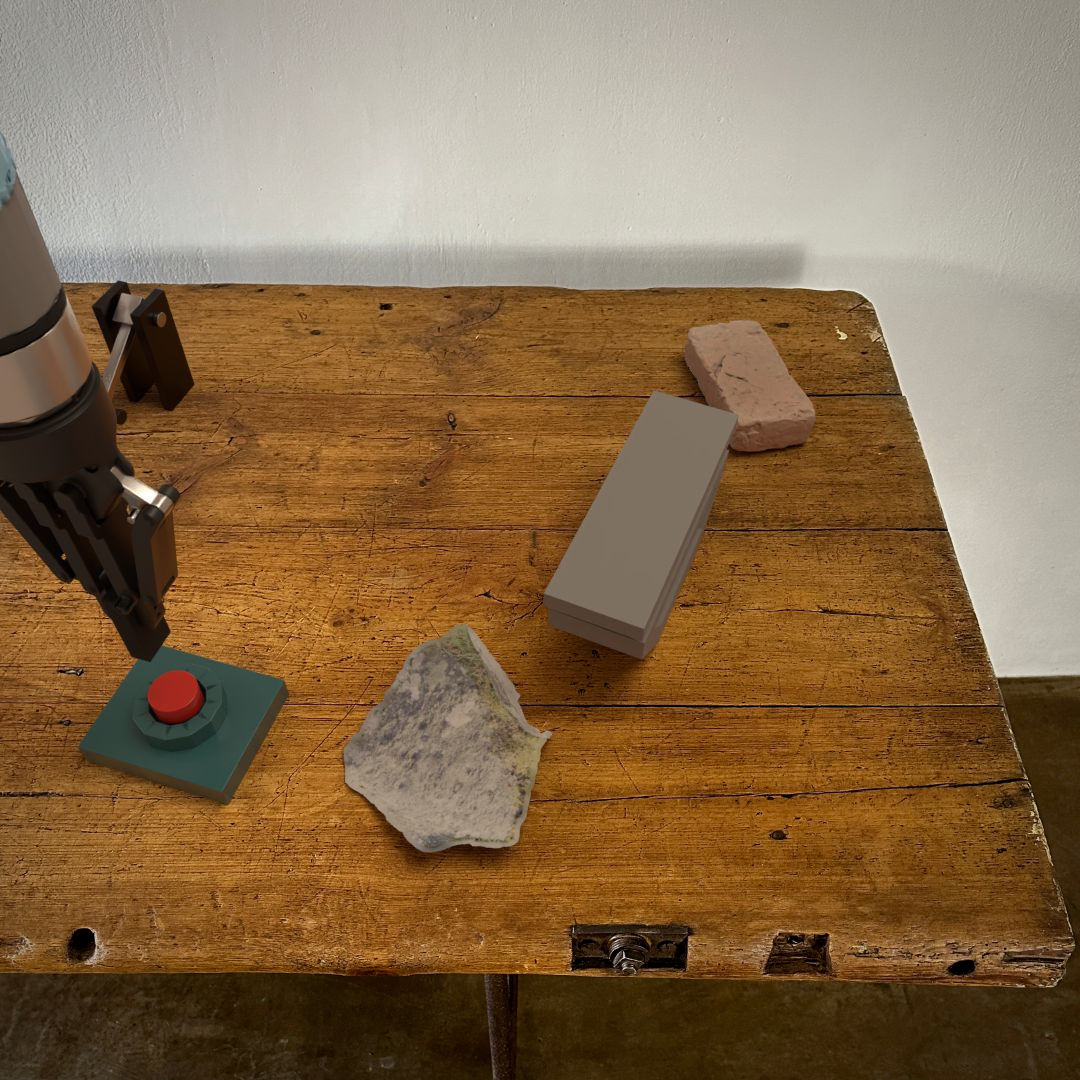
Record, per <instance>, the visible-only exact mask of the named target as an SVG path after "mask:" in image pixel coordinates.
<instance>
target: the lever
mask: <svg viewBox="0 0 1080 1080" xmlns="http://www.w3.org/2000/svg"><path fill="white" fill-rule="evenodd" d="M144 299H145V298H144V297H143V296H138V295H133V294H131V295H129V294H125V293H122V294H121V296H120V299H119V302H118V305H117V308H116V310H115V313H114V316H113V319H112V320H113V321H114V322H116V323H117V324H118V325H120V326H121V327H120V330H119V333H118V335H117V338H116V341H115V344H114V347H113V349H112V352H111V354H110V355H109V358H108V361H107V364H106V366H105V369H104V372H103V375H102V380H103V382H104V384H105V387H106V389H107V392H108V394H109V396H110V399H111V401H112V402H113V399H114V396H115V394H116V390H117V388H118V384H119V382H120V376H121V373H122V370H123V368H124V365H125V362H126V359H127V356H128V353H129V351H130V348H131V345H132V342H133V339H134V336H135V334H136V331H135V328H134V325H133V323H132V320H131V317H130V314H131V313H132V312H133V311H134V310H135V309H136V308H137V307H138V306H139V305H140V303H141V302H142V301H143V300H144ZM114 408H115V411H116V416H117V426H123V425H125V424H126V422H127V419H128V414H127V413H128V412H127V411H126V410H125V409H122V408H117V407H114Z"/></svg>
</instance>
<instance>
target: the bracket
mask: <svg viewBox="0 0 1080 1080" xmlns="http://www.w3.org/2000/svg"><path fill="white" fill-rule="evenodd" d="M122 293H125V294H129V295H132V292H131V290H130V286H129V284H128V282H127V281H123V280H119V279H118V280H117V281H116V282H115V283H113V285H112V286H110V287H109V288H108V289H107V290H106V291H105V292H104V293H103V294H102V295H101V296H100V297H99V298H98V299H96V301H95V302H94V303H93V304H92V305H91V309H92V312H93V314H94V317H95V319H96V321H97V324H98V327H99V329H100V331H101V334H102V336H103V339H104V342H105V344H106V347H107V349H108V352H109V354H110V355H111V352H112V349H113V347H114V344H115V341H116V338H117V335H118V333H119V330H120V327H121V326H120V325H118V324H117V323H116V322H114V321H113V320H112V319H113V316H114V313H115V310H116V308H117V305H118V302H119V299H120V296H121V294H122ZM130 317H131V320H132V323H133V325H134V328H135V331H136V334H135V336H134V339H133V342H132V345H131V348H130V351H129V353H128V356H127V359H126V362H125V365H124V368H123V370H122V373H121V376H120V379H119V381H120V382H121V384H122V387H123V389H124V393H125V394H126V397H127V400H128V402H130V403H135V404H138V403H139V402H140V401H141V400H142V399H143V397H144V396H145V395H146V394H147V393H148V392H149V390H150V389H151V388H152V387H153V386H155V389H156V391H157V394H158V397H159V399H160V403H161V405H162V407H163V410H166V411H169V412H173V411H174V410H175V409H176V408H177V407H178V405H179V404H180V403H181V402H182V400H183V399H184V398H185V397H186V395H187V394H188V393H189V392H190V391H191V390H192V389H193V387H194V386H195V381H194V378H193V375H192V372H191V368H190V366H189V363H188V360H187V359H188V358H187V357H186V353H185V351H184V347H183V344H182V341H181V338H180V335H179V332H178V327H177V325H176V322H175V319H174V317H173V313H172V310H171V307H170V304H169V301H168V297H167V294H166V291H165V290H164V289H161V288H157V287H155V288H154V289H152V291H151V292H150V293H149V294H148V295H147V296H146V297H145V298H144V300H143V301H142V302H141V303H140V305H139V306H138V307H137V308H136V309H135V310H134V311H133V312H132V313H131V314H130Z"/></svg>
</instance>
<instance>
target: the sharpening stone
mask: <svg viewBox="0 0 1080 1080" xmlns="http://www.w3.org/2000/svg"><path fill="white" fill-rule="evenodd" d="M738 417H739V415H738V414H734V413H731V412H727V411H724V410H721V409H717V408H714V407H710V406H709V405H708V404H707V405H706V404H703V403H699V402H697V401H693V400H690V399H686V398H682V397H679V396H675V395H673V394H669V393H665V392H662V391H659V390H653V391H652V393H651V395H650V397H649V399H648V400H647V402H646V404H645V406H644V408H643V409H642V411H641V413H640V415H639V417H638V418H637V420H636V422H635V424H634V426H633V428H632V430H631V431H630V434H629V436H628V437H627V439H626V441H625V443H624V444H623V446H622V448H621V450H620V452H619V453H618V456H617V457H616V459H615V461H614V463H613V465H612V466H611V468H610V470H609V472H608V474H607V476H606V478H605V479H604V481H603V483H602V485H601V487H600V489H599V491H598V492H597V494H596V496H595V498H594V499H593V501H592V504H591V506H590V507H589V509H588V511H587V513H586V515H585V517H584V518H583V520H582V521H581V524H580V526H579V528H578V529H577V532H576V533H575V535H574V537H573V538H572V541H571V542H570V544H569V546H568V548H567V550H566V552H565V554H563V557H562V559H561V561H560V563H559V564H558V566H557V568H556V570H555V572H554V574H553V576H552V578H551V579H550V581H549V583H548V585H547V586H546V588H545V590H544V592H543V601H542V602H543V603H542V604H543V607H545V608H548V609H547V610H548V612H547V613H548V614H547V626H549V627H551V628H554V629H556V630H560V631H563V632H564V633H568V634H570V635H574V636H576V637H580V638H582V639H585V640H587V641H590V642H592V643H596V644H598V645H600V646H604V647H607V648H609V649H612V650H614V651H617V652H619V653H620V652H621V653H623V654H626V655H628V656H631V657H633V658H637V659H640V660H643V659H644V658H645V657H646V656H647V655H648V654H649V653H650V652H651V651H652V650H653V649H654V648H655V647H656V646H657V645H658V644H659V642H660V640H661V637H662V634H663V632H664V630H665V628H666V625H667V623H668V621H669V618H670V616H671V614H672V611H673V609H674V606H675V604H676V602H677V599H678V597H679V594H680V592H681V590H682V587H683V586H684V583H685V581H686V578H687V576H688V573H689V571H690V569H691V567H692V564H693V562H694V559H695V557H696V556H697V552H698V551H699V547H700V544H701V541H702V538H703V535H704V533H705V532H704V531H705V529H706V526H707V523H708V521H709V517H710V514H711V511H712V507H713V505H714V501H715V499H716V496H717V492H718V490H719V487H720V484H721V481H722V478H723V475H724V472H725V469H726V465H727V461H728V456H729V453H730V450H729V449H728V447H729V446H730V443H729V442H730V440H731V438H732V436H733V433H734V431H735V429H736V425H737V421H738Z"/></svg>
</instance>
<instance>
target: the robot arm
mask: <svg viewBox="0 0 1080 1080" xmlns="http://www.w3.org/2000/svg"><path fill="white" fill-rule="evenodd" d="M17 169H18V168H17V165H16V162H15V159H14V155H13V152H12V150H11V148H10V147H9V143H8V141H7V138H6V137H5V136H4V134H3V133H2V131H0V512H1V514H3V516H4V517H5V518H6V519H7V521H8V522H9V523H10V524H11V525H12V526H13V528H14V529H16V531H17V532H18V534H19V535H20V536H21V537H22V538H23V539H24V541H25V542H26V543H27V544H28V546H30V548H31V549H32V550H33V552H35V554H36V555H37V556H38V557H39V558H40V560H42V562H43V563H44V564H45V566H47V568H48V569H49V570H50V571H51V573H52V574H53V575H54V576H55V577H56V579H58V580H59V581H60V582H62V583H65V584H71V583H72V582H73V581H74V580H76V581H78V582H79V584H80V586H81V587H82V589H83V590H84V592H86V593H88V594H90V595H91V596H94V597H95V599H96V601H97V603H98V604H99V607H100V609H101V610H102V612H103V613H104V614H105V615H106V617H108V619H110V620H111V622H112V624H113V626H114V628H115V629H116V631H117V633H118V635H119V637H120V638H121V640H122V642H123V644H124V646H125V648H126V650H127V651H128V653H129V655H130V657H131V658H134V659H136V660H138V659H140V660H144V661H147V662H151V661H152V659H153V658H154V656H155V655H156V653H157V652H158V650H159V649H160V647H161V646H162V645H164V643H165V641H166V640H167V639H168V637H170V634H171V633H172V631H171V629H170V626H169V624H168V622H167V620H166V618H165V615H166V612H167V610H166V607H165V605H164V602H163V601H162V600H163V598H164V597H165V595H166V594H167V593H168V591H169V590H170V589H171V587H172V586H173V584H174V583H175V581H176V580H177V579H178V577H179V569H178V559H177V558H178V557H177V546H176V533H175V524H174V512H173V511H174V509H175V507H176V505H177V504H178V502H179V501H180V500H181V492H180V491H179V490H178V489H177V488H176V487H175V486H172V485H170V484H167V483H164V484H162V485H161V486H160V487H159V488H158V490H156V489H155V488H152V487H151V486H149V485H147V484H146V483H144V482H143V481H141V480H139V479H138V478H137V477H135V476H136V475H135V474H136V472H135V468H134V466H133V464H132V463H131V461H130V460H129V459H128V458H127V457H126V456H125V455H124V453H122V451H121V450H120V448H119V447H118V443H117V431H118V430H117V428H118V424H117V416H116V411H115V408H116V407H115V406H114V403H113V400H112V401H111V399H110V396H109V394H108V392H107V389H106V387H105V384H104V382H103V380H102V378H103V376H102V374H101V373H100V370H99V367H98V366H97V365H96V363H95V362H94V361H93V357H92V354H91V350H90V348H89V346H88V343H87V341H86V339H85V335H84V333H83V332H82V329H81V327H80V323H79V321H78V320H77V317H76V315H75V312H74V310H73V308H72V305H71V303H70V301H69V298H68V295H67V294H66V292H65V288H64V286H63V284H62V281H61V279H60V276H59V274H58V272H57V269H56V267H55V264H54V262H53V259H52V257H51V254H50V251H49V249H48V247H47V244H46V242H45V239H44V236H43V234H42V232H41V229H40V226H39V225H38V221H37V219H36V216H35V214H34V212H33V210H32V207H31V204H30V202H29V199H28V196H27V194H26V192H25V191H26V190H24V187H23V184H22V181H21V179H20V177H19V174H18V172H17ZM128 511H129V512H130V513H129V512H128ZM63 555H64V556H65V557H64V558H63Z"/></svg>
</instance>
